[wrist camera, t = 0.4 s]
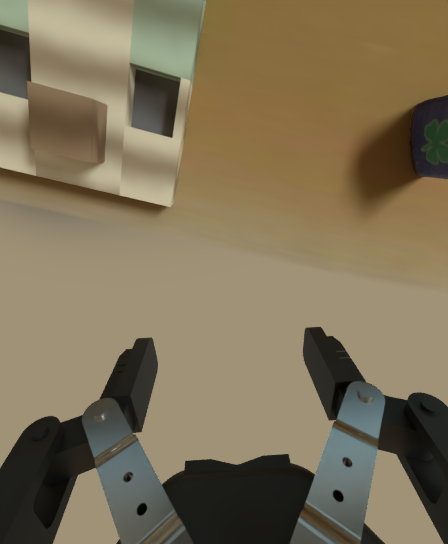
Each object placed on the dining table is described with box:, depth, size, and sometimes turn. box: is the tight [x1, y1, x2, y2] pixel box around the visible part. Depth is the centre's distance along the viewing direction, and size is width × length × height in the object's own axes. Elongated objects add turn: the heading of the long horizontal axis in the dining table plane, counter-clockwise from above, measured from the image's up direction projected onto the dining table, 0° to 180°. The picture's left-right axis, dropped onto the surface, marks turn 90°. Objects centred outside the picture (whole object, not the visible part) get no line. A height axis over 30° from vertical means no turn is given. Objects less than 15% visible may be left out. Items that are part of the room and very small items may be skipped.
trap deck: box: [0, 0, 206, 207], centre depth 29 cm, size 24×23×4 cm
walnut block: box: [27, 81, 108, 163], centre depth 28 cm, size 6×6×4 cm
